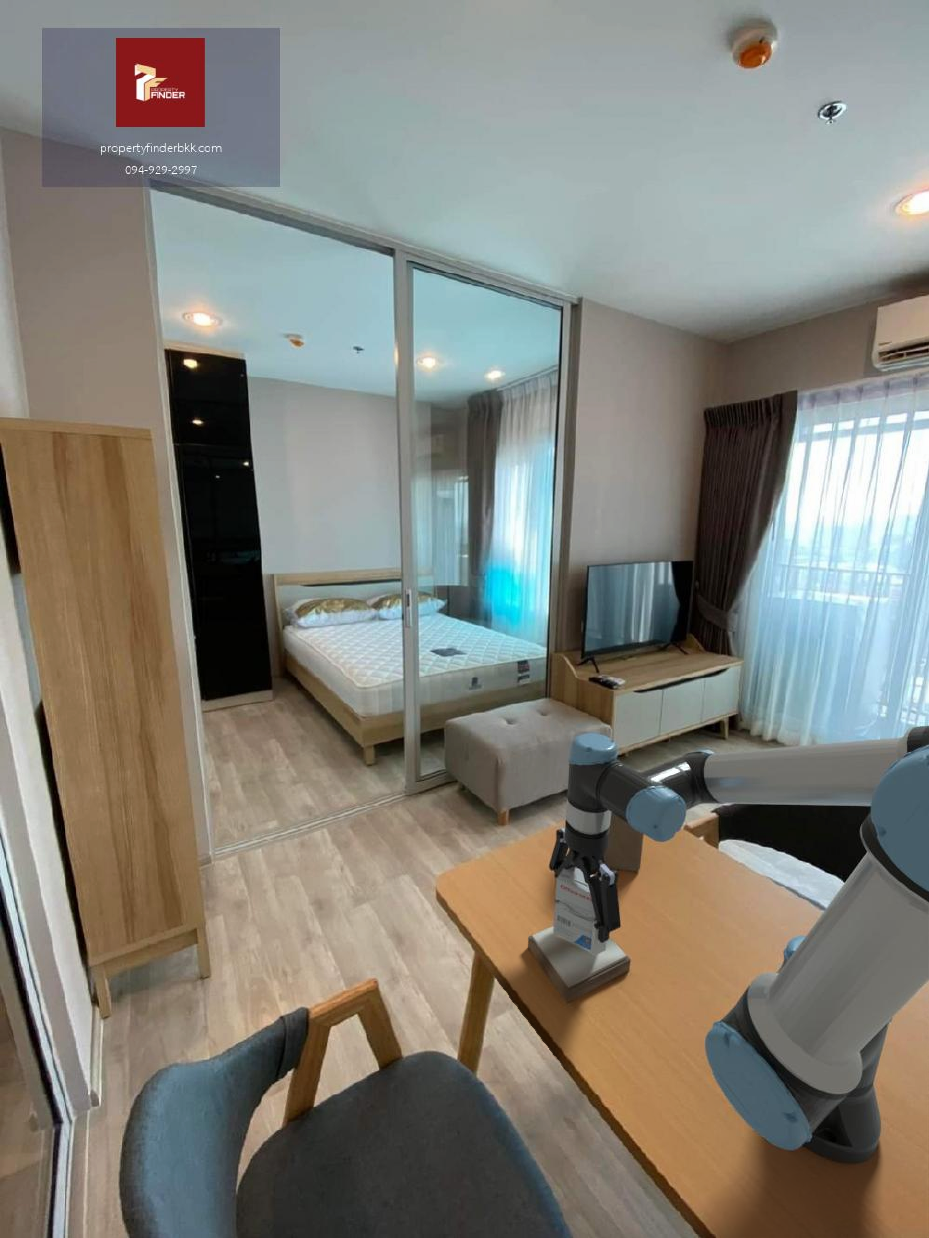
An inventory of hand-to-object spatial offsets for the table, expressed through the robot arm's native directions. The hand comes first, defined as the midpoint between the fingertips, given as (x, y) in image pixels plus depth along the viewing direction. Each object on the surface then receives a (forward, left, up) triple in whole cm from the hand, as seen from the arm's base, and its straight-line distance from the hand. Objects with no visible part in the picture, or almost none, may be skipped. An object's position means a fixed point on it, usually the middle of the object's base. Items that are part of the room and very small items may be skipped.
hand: (579, 929), depth 90 cm
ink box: (0, 0, -1) cm, 1 cm away
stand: (0, 0, -6) cm, 6 cm away
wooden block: (+18, -26, -7) cm, 32 cm away
